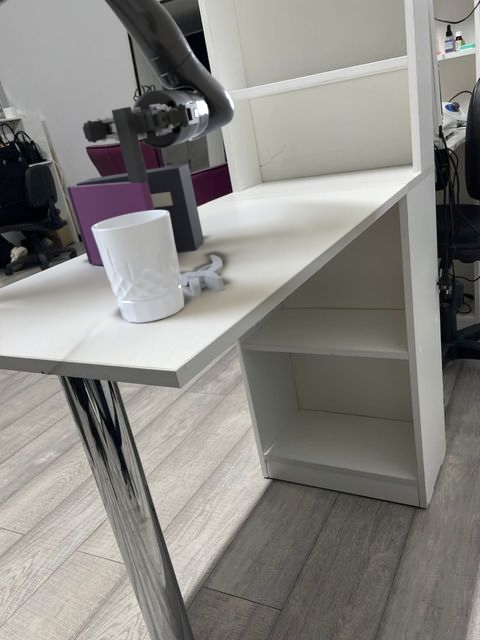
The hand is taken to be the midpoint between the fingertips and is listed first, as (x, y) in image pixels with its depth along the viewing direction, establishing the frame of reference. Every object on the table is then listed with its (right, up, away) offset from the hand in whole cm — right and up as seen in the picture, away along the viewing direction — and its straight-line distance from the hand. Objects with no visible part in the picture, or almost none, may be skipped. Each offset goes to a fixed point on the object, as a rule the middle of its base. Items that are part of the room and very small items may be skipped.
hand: (118, 126), depth 65 cm
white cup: (+6, -23, -7) cm, 25 cm away
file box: (0, -11, +20) cm, 23 cm away
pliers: (+9, -18, +2) cm, 21 cm away
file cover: (-2, -15, +14) cm, 20 cm away
